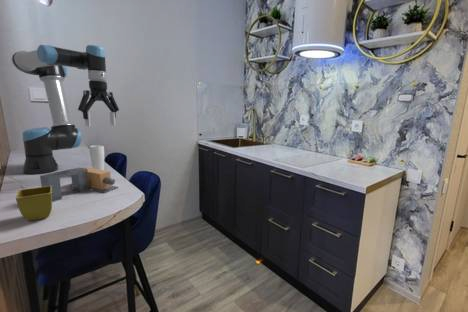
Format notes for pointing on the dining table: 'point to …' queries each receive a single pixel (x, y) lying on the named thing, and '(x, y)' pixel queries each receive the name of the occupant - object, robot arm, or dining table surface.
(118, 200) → the dining table surface
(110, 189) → the mat
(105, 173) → the plug
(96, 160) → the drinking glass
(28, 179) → the dining table surface
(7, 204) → the dining table surface
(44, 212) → the flower pot
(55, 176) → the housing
